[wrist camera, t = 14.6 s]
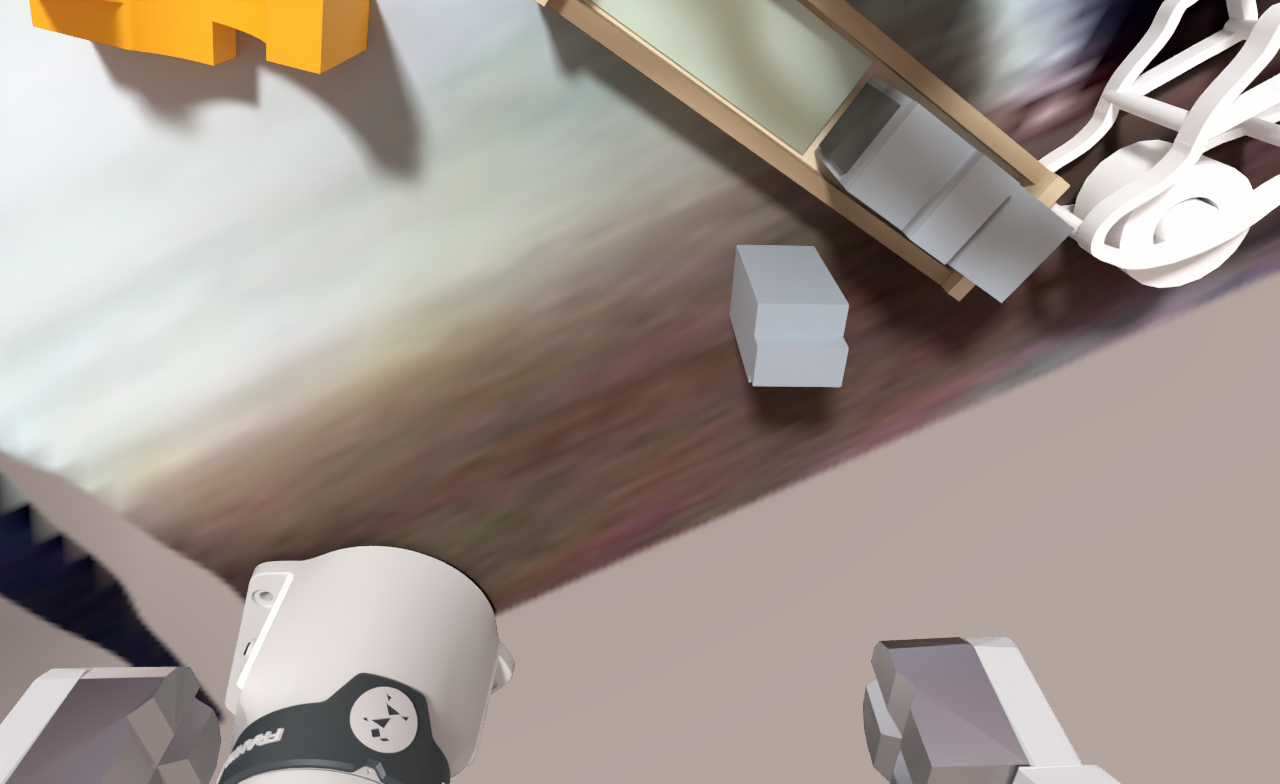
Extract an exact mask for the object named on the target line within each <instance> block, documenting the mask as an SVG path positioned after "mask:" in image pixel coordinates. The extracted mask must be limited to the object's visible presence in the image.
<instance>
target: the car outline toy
mask: <svg viewBox="0 0 1280 784" xmlns="http://www.w3.org/2000/svg"><path fill="white" fill-rule="evenodd" d="M1197 1H1198V0H1165V1H1164V2H1163V3H1162V5H1161V6H1160V8H1159V10H1158V12H1157V14H1156V16H1155V19H1154V21H1153V23H1152V25H1151V27H1150V28H1149V30H1148V31H1147V33H1146V34H1145V36H1144V37H1143V38H1142V39H1141V41H1140V42H1139V43H1138V45H1137V46H1136V47H1135V48H1134V49H1133V50H1132V52H1131V53H1130V54H1129V55H1128V56H1127V57H1126V59H1125V60H1124V61H1123V62H1122V63H1121V65H1120V66H1119V67H1118V68H1117V70H1116V71H1115V72H1114V74H1113V75H1112V77H1111V79H1110V80H1109V82H1108V83H1107V85H1106V87H1105V89H1104V91H1103V93H1102V95H1101V98H1100V100H1099V102H1098V105H1097V107H1096V109H1095V112H1094V115H1093V117H1092V119H1091V120H1090V121H1089V122H1088V124H1087V125H1086V126H1085V127H1084V128H1083V129H1082V130H1081V131H1080V132H1079V133H1078V134H1077V135H1076V136H1075V137H1073V138H1072V139H1071V140H1069V141H1068V142H1066V143H1065V144H1063V145H1062V146H1060V147H1059V148H1057V149H1055V150H1054V151H1052V152H1051V153H1049V154H1047V155H1046V156H1044V157H1043V158H1042V159H1040V160H1039V162H1040V163H1041V164H1042V165H1044V166H1045V167H1046V168H1047V169H1048V170H1050V171H1051V172H1053V173H1054V172H1055V171H1057V170H1058V169H1060V168H1061V167H1063V166H1064V165H1066V164H1068V163H1069V162H1071V161H1072V160H1074V159H1076V158H1077V157H1079V156H1080V155H1082V154H1083V153H1085V152H1086V151H1087V150H1089V149H1090V148H1091V147H1092V146H1094V145H1095V144H1096V143H1097V142H1098V141H1099V140H1100V139H1101V138H1102V137H1103V136H1104V135H1105V134H1106V133H1107V132H1108V130H1109V129H1110V128H1111V127H1112V125H1113V123H1114V122H1115V120H1116V118H1117V115H1118V112H1119V109H1121V110H1123V111H1126V112H1128V113H1131V114H1134V115H1136V116H1139V117H1141V118H1144V119H1147V120H1149V121H1152V122H1154V123H1157V124H1160V125H1162V126H1165V127H1167V128H1170V129H1173V130H1175V131H1178V135H1177V137H1176V139H1175V140H1174V143H1170V142H1166V141H1161V140H1150V141H1140V142H1137V143H1134V144H1132V145H1129V146H1126V147H1124V148H1121V149H1119V150H1118V151H1116V152H1115V153H1113V154H1112V155H1110V156H1109V157H1108V158H1106V159H1105V160H1103V161H1102V162H1101V163H1100V164H1099V165H1098V166H1097V167H1096V168H1095V169H1094V171H1093V172H1092V173H1091V174H1090V175H1089V176H1088V177H1087V179H1086V180H1085V182H1084V184H1083V186H1082V188H1081V190H1080V192H1079V194H1078V196H1077V199H1076V204H1072V205H1066V206H1060V205H1058V204H1057V203H1055V202H1054V204H1053V205H1052V206H1051V207H1050V208H1049V209H1050V210H1052V211H1053V212H1054V213H1055V214H1057V215H1058V216H1059V217H1060V218H1062V219H1063V220H1064V221H1065V222H1067V223H1068V224H1069V225H1070V226H1072V227H1073V228H1074V229H1075V230H1074V231H1073V232H1072V233H1071V234H1070V235H1069V236H1070V237H1072V238H1073V239H1074V240H1076V241H1077V242H1078V245H1079V246H1080V247H1081V248H1083V249H1084V250H1086V251H1087V252H1088V253H1090V254H1091V255H1093V256H1094V257H1096V258H1097V259H1099V260H1101V261H1103V262H1107V263H1110V264H1112V265H1115V266H1117V267H1118V268H1119V269H1121V270H1122V271H1124V272H1125V273H1127V274H1128V275H1129V276H1131V277H1132V278H1134V279H1135V280H1137V281H1138V282H1140V283H1141V284H1143V285H1148V286H1153V287H1157V288H1165V287H1175V286H1181V285H1184V284H1186V283H1189V282H1192V281H1195V280H1198V279H1200V278H1202V277H1203V276H1205V275H1206V274H1208V273H1210V272H1211V271H1213V270H1214V269H1216V268H1218V267H1219V266H1220V265H1221V264H1222V263H1223V262H1224V261H1225V260H1226V259H1227V258H1229V257H1230V256H1231V255H1232V254H1233V253H1234V252H1235V251H1236V249H1237V248H1238V246H1239V245H1240V243H1241V242H1242V240H1243V239H1244V237H1245V236H1246V234H1247V233H1248V231H1249V228H1250V226H1252V225H1253V224H1255V223H1256V222H1257V221H1259V220H1260V219H1261V218H1263V217H1264V216H1265V215H1267V214H1268V213H1269V212H1270V211H1272V210H1273V209H1274V208H1276V207H1277V206H1279V205H1280V174H1279V175H1278V176H1276V177H1274V178H1272V179H1270V180H1269V181H1267V182H1265V183H1263V184H1262V185H1260V186H1259V187H1257V188H1256V189H1255V190H1253V189H1252V187H1251V185H1250V182H1249V180H1248V178H1246V177H1245V176H1244V175H1243V174H1241V173H1240V172H1239V171H1238V170H1236V169H1235V168H1233V167H1231V166H1228V165H1226V164H1223V163H1221V162H1218V161H1216V160H1213V159H1211V158H1209V157H1206V156H1204V155H1202V153H1204V152H1206V151H1207V150H1209V149H1211V148H1213V147H1215V146H1217V145H1220V144H1222V143H1224V142H1227V141H1231V140H1233V139H1236V138H1239V137H1242V136H1245V135H1247V136H1250V137H1253V138H1255V139H1258V140H1261V141H1264V142H1267V143H1270V144H1273V145H1275V146H1278V147H1280V125H1278V124H1275V122H1278V121H1280V74H1278V75H1276V76H1274V77H1272V78H1270V79H1269V80H1267V81H1265V82H1263V83H1261V84H1259V85H1257V86H1256V87H1254V88H1252V89H1250V90H1248V91H1246V92H1245V93H1243V94H1241V93H1242V91H1243V90H1244V89H1245V88H1246V87H1247V86H1248V85H1249V84H1250V83H1251V82H1252V81H1253V80H1254V79H1255V78H1256V76H1257V75H1258V74H1259V73H1260V72H1261V71H1262V70H1263V69H1264V68H1265V67H1266V66H1267V64H1268V63H1269V62H1270V61H1271V60H1272V58H1273V57H1274V56H1275V55H1276V53H1277V51H1278V50H1279V48H1280V3H1278V4H1275V5H1273V6H1271V7H1270V8H1269V9H1268V10H1267V11H1266V12H1265V13H1264V14H1263V15H1262V16H1261V17H1260V19H1259V20H1258V13H1257V6H1256V1H1255V0H1226V4H1227V9H1228V14H1229V20H1228V21H1227V22H1226V23H1225V25H1224V28H1223V29H1222V30H1220V31H1218V32H1217V33H1215V34H1213V35H1211V36H1210V37H1208V38H1206V39H1204V40H1203V41H1201V42H1199V43H1197V44H1195V45H1193V46H1191V47H1190V48H1188V49H1186V50H1184V51H1183V52H1181V53H1179V54H1177V55H1176V56H1174V57H1172V58H1170V59H1168V60H1167V61H1165V62H1163V63H1161V64H1160V65H1158V66H1156V67H1154V68H1153V69H1151V70H1149V71H1147V72H1146V73H1144V74H1142V75H1140V73H1141V72H1142V71H1143V70H1144V68H1145V67H1146V66H1147V65H1148V64H1149V63H1150V61H1151V60H1152V59H1153V58H1154V57H1155V56H1156V54H1157V53H1158V52H1159V51H1160V50H1161V49H1162V47H1163V46H1164V45H1165V44H1166V42H1167V41H1168V40H1169V39H1170V37H1171V36H1172V34H1173V33H1174V31H1175V29H1176V27H1177V25H1178V23H1179V21H1180V19H1181V17H1182V15H1183V13H1184V11H1185V10H1186V8H1188V7H1189V6H1191V5H1192V4H1194V3H1195V2H1197ZM1243 39H1244V40H1247V41H1246V43H1245V45H1244V46H1243V48H1242V49H1241V50H1240V52H1239V53H1238V54H1237V55H1236V57H1235V58H1234V59H1233V60H1232V61H1231V62H1230V64H1229V65H1228V66H1227V67H1226V68H1225V69H1224V70H1223V71H1222V72H1221V73H1220V74H1219V76H1218V77H1217V78H1216V79H1215V80H1214V81H1213V82H1212V83H1211V84H1210V85H1209V87H1208V88H1207V89H1206V90H1205V91H1204V92H1203V94H1202V95H1201V96H1200V97H1199V99H1198V100H1197V101H1196V103H1195V104H1194V106H1193V107H1192V109H1191V110H1190V111H1187V110H1184V109H1181V108H1178V107H1175V106H1172V105H1169V104H1166V103H1163V102H1161V101H1158V100H1155V99H1152V98H1149V97H1146V96H1143V95H1145V94H1147V93H1148V92H1150V91H1152V90H1154V89H1156V88H1157V87H1159V86H1161V85H1163V84H1164V83H1166V82H1168V81H1170V80H1171V79H1173V78H1175V77H1177V76H1179V75H1180V74H1182V73H1184V72H1186V71H1187V70H1189V69H1191V68H1193V67H1194V66H1196V65H1198V64H1200V63H1201V62H1203V61H1205V60H1207V59H1208V58H1210V57H1212V56H1214V55H1216V54H1218V53H1220V52H1222V51H1224V50H1225V49H1227V48H1229V47H1231V46H1232V45H1234V44H1236V43H1238V42H1239V41H1241V40H1243ZM1139 75H1140V76H1139ZM1138 76H1139V77H1138ZM1240 94H1241V95H1240Z"/></svg>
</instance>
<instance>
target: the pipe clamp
mask: <svg viewBox="0 0 1280 784" xmlns="http://www.w3.org/2000/svg"><path fill="white" fill-rule="evenodd" d="M29 1H30V8H31V15H32V23H33V26H34V27H38V28H42V29H46V30H50V31H54V32H58V33H62V34H66V35H70V36H74V37H78V38H82V39H86V40H90V41H94V42H98V43H102V44H106V45H110V46H114V47H118V48H122V49H126V50H132V51H141V52H148V53H155V54H161V55H167V56H173V57H178V58H183V59H188V60H192V61H196V62H200V63H204V64H208V65H212V66H215V65H217V64H220V63H223V62H225V61H228V60H231V59H234V58H236V29H238V30H241V31H243V32H246V33H248V34H250V35H252V36H254V37H256V38H258V39H260V40H262V41H263V42H265V43H266V61H270V62H274V63H278V64H282V65H286V66H290V67H293V68H297V69H301V70H305V71H309V72H313V73H317V74H322V73H324V72H325V71H327V70H329V69H331V68H333V67H335V66H337V65H339V64H340V63H342V62H344V61H346V60H348V59H350V58H352V57H353V56H355V55H357V54H359V53H361V52H363V51H365V50H367V36H368V21H369V6H370V0H29Z"/></svg>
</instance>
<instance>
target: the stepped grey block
mask: <svg viewBox="0 0 1280 784" xmlns="http://www.w3.org/2000/svg"><path fill="white" fill-rule="evenodd" d="M848 308H849V304H848V302H847V300H846V299H845V297H844V295H843V294H842V292H841V290H840V289H839V287H838V285H837V284H836V282H835V280H834V279H833V277H832V276H831V274H830V272H829V271H828V269H827V267H826V266H825V264H824V262H823V261H822V259H821V257H820V256H819V254H818V252H817V251H816V249H815V247H814V246H776V245H736V255H735V265H734V275H733V285H732V295H731V305H730V319H731V322H732V326H733V329H734V333H735V336H736V340H737V343H738V347H739V350H740V354H741V357H742V361H743V364H744V368H745V371H746V375H747V378H748V382H752V385H753V386H781V387H841V385H842V380H843V375H844V370H845V365H846V360H847V354H848V349H849V348H848V346H847V344H846V342H845V340H844V338H843V335H844V329H845V324H846V319H847V313H848Z"/></svg>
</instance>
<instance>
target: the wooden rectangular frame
mask: <svg viewBox="0 0 1280 784" xmlns="http://www.w3.org/2000/svg"><path fill="white" fill-rule="evenodd" d="M535 1H537V2H538V3H540V4H541V5H542V6H545V5H547V6H549V7H550V8H552V9H553V10H554V11H556V12H557V13H559V14H560V15H561V16H563V17H564V18H566V19H567V20H568V21H570V22H571V23H573V24H574V25H575V26H577V27H578V28H580V29H581V30H583V31H584V32H585V33H587V34H588V35H590V36H591V37H592V38H594V39H595V40H597V41H598V42H599V43H601V44H602V45H604V46H605V47H606V48H608V49H609V50H611V51H612V52H613V53H615V54H616V55H618V56H619V57H620V58H622V59H623V60H625V61H626V62H627V63H629V64H630V65H632V66H633V67H635V68H636V69H637V70H639V71H640V72H642V73H643V74H644V75H646V76H647V77H649V78H650V79H651V80H653V81H654V82H656V83H657V84H658V85H660V86H661V87H663V88H664V89H665V90H667V91H668V92H670V93H671V94H672V95H674V96H675V97H677V98H678V99H679V100H681V101H682V102H684V103H685V104H686V105H688V106H689V107H691V108H692V109H694V110H695V111H696V112H698V113H699V114H701V115H702V116H703V117H705V118H706V119H708V120H709V121H710V122H712V123H713V124H715V125H716V126H717V127H719V128H720V129H722V130H723V131H724V132H726V133H727V134H729V135H730V136H731V137H733V138H734V139H736V140H737V141H738V142H740V143H741V144H743V145H744V146H746V147H747V148H748V149H750V150H751V151H753V152H754V153H755V154H757V155H758V156H760V157H761V158H762V159H764V160H765V161H767V162H768V163H769V164H771V165H772V166H774V167H775V168H776V169H778V170H779V171H781V172H782V173H783V174H785V175H786V176H788V177H789V178H790V179H792V180H793V181H795V182H796V183H797V184H799V185H800V186H802V187H803V188H805V189H806V190H807V191H809V192H810V193H812V194H813V195H814V196H816V197H817V198H819V199H820V200H821V201H823V202H824V203H826V204H827V205H828V206H830V207H831V208H833V209H834V210H835V211H837V212H838V213H840V214H841V215H842V216H844V217H845V218H847V219H848V220H849V221H851V222H852V223H854V224H855V225H857V226H858V227H859V228H861V229H862V230H864V231H865V232H866V233H868V234H869V235H871V236H872V237H873V238H875V239H876V240H878V241H879V242H880V243H882V244H883V245H885V246H886V247H887V248H889V249H890V250H892V251H893V252H894V253H896V254H897V255H899V256H900V257H901V258H903V259H904V260H906V261H907V262H908V263H910V264H911V265H913V266H914V267H916V268H917V269H918V270H920V271H921V272H923V273H924V274H925V275H927V276H928V277H930V278H931V279H932V280H934V281H935V282H937V283H938V284H939V285H941V286H942V287H943V288H944V290H945V291H946V292H947V293H948V294H949V295H951V296H952V297H954V298H955V299H956V300H958V301H959V302H960V300H961V299H962V298H963V297H964V296H965V295H966V294H967V293H968V292H969V291H970V290H971V289H972V288H973V287H974V286H975V285H977V286H979V287H980V288H981V289H983V290H984V291H986V292H987V293H988V294H990V295H991V296H992V297H994V298H995V299H997V300H998V301H999V302H1001V303H1002V302H1003V301H1004V300H1005V299H1006V298H1007V297H1008V296H1009V295H1010V294H1011V293H1012V292H1013V291H1014V290H1015V289H1016V288H1017V287H1018V286H1019V285H1020V284H1021V283H1022V282H1023V281H1024V280H1025V279H1026V278H1027V277H1028V276H1029V275H1030V274H1031V273H1032V272H1033V271H1034V270H1035V269H1036V268H1037V267H1038V266H1039V265H1040V264H1041V263H1042V262H1043V261H1044V260H1045V259H1046V258H1047V257H1048V256H1049V255H1050V254H1051V253H1052V252H1053V251H1054V250H1055V249H1056V248H1057V247H1058V246H1059V245H1060V244H1061V243H1062V242H1063V241H1064V240H1065V239H1066V238H1067V237H1068V236H1069V235H1070V234H1071V233H1072V232H1073V231H1074V230H1075V229H1074V228H1073V227H1072V226H1070V225H1069V224H1068V223H1067V222H1065V221H1064V220H1063V219H1062V218H1060V217H1059V216H1058V215H1057V214H1055V213H1054V212H1053V211H1052V210H1050V209H1049V208H1050V207H1051V206H1052V205H1053V204H1054V202H1055V201H1056V200H1057V199H1058V198H1059V197H1060V196H1061V195H1062V194H1063V193H1064V192H1065V191H1066V190H1067V189H1068V188H1069V187H1070V185H1069V184H1068V183H1067V182H1066V181H1064V180H1063V179H1062V178H1061V177H1060V176H1058V175H1057V174H1055V173H1053V172H1051V171H1050V170H1048V169H1047V168H1046V167H1045V166H1044V165H1042V164H1041V163H1040V162H1039V161H1037V160H1036V159H1035V158H1034V157H1033V156H1031V155H1030V154H1029V153H1028V152H1027V151H1025V150H1024V149H1023V148H1022V147H1021V146H1019V145H1018V144H1017V143H1016V142H1015V141H1013V140H1012V139H1011V138H1010V137H1009V136H1007V135H1006V134H1005V133H1004V132H1003V131H1001V130H1000V129H999V128H998V127H997V126H995V125H994V124H993V123H992V122H990V121H989V120H988V119H987V118H986V117H984V116H983V115H982V114H981V113H980V112H978V111H977V110H976V109H975V108H974V107H972V106H971V105H970V104H969V103H968V102H966V101H965V100H964V99H963V98H962V97H960V96H959V95H958V94H957V93H956V92H954V91H953V90H952V89H951V88H949V87H948V86H947V85H946V84H945V83H943V82H942V81H941V80H940V79H939V78H937V77H936V76H935V75H934V74H933V73H931V72H930V71H929V70H928V69H927V68H925V67H924V66H923V65H922V64H921V63H919V62H918V61H917V60H916V59H915V58H913V57H912V56H911V55H910V54H909V53H907V52H906V51H905V50H904V49H902V48H901V47H900V46H899V45H898V44H896V43H895V42H894V41H893V40H892V39H890V38H889V37H888V36H887V35H886V34H884V33H883V32H882V31H881V30H880V29H878V28H877V27H876V26H875V25H874V24H872V23H871V22H870V21H869V20H868V19H866V18H865V17H864V16H863V15H861V14H860V13H859V12H858V11H857V10H855V9H854V8H853V7H852V6H851V5H849V4H848V3H847V2H846V1H845V0H535Z"/></svg>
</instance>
